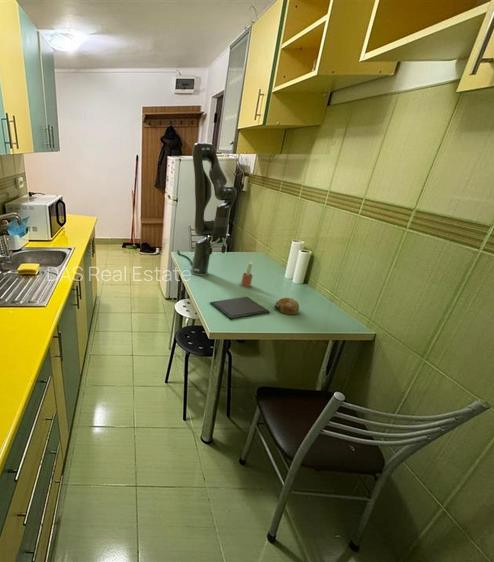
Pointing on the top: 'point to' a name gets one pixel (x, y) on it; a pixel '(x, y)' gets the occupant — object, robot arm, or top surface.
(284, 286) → the top surface
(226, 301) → the plate
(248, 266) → the stylus
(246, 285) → the pen pot
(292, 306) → the bread roll
